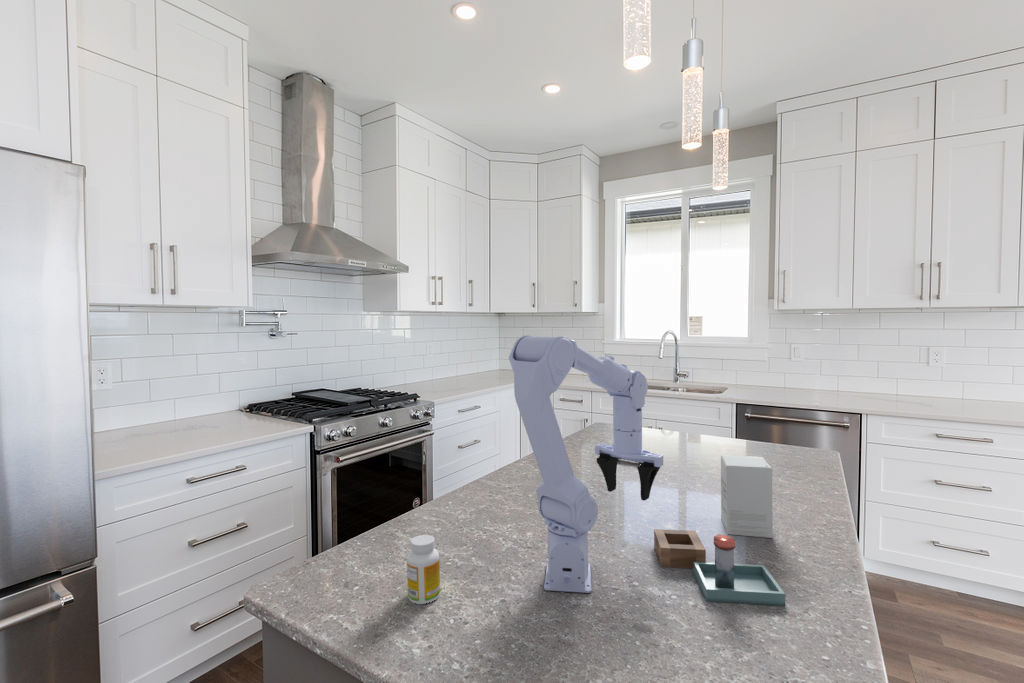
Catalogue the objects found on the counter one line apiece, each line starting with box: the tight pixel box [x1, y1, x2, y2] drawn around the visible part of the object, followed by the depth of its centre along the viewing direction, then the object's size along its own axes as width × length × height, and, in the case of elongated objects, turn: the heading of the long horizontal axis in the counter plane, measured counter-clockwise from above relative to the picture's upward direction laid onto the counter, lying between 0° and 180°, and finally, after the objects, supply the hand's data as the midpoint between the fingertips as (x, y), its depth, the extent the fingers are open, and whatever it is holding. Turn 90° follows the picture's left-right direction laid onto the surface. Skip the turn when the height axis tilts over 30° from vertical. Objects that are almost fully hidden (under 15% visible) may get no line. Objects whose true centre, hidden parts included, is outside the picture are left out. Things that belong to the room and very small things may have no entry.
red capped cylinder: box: [713, 534, 736, 589], centre depth 82 cm, size 3×3×8 cm
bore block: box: [653, 528, 707, 569], centre depth 93 cm, size 8×8×4 cm
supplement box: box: [720, 454, 774, 539], centre depth 105 cm, size 9×9×15 cm
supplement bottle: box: [406, 534, 441, 605], centre depth 81 cm, size 5×5×10 cm
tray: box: [692, 561, 786, 607], centre depth 82 cm, size 9×12×2 cm
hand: (628, 494), depth 99 cm, fingers open, 7 cm apart
